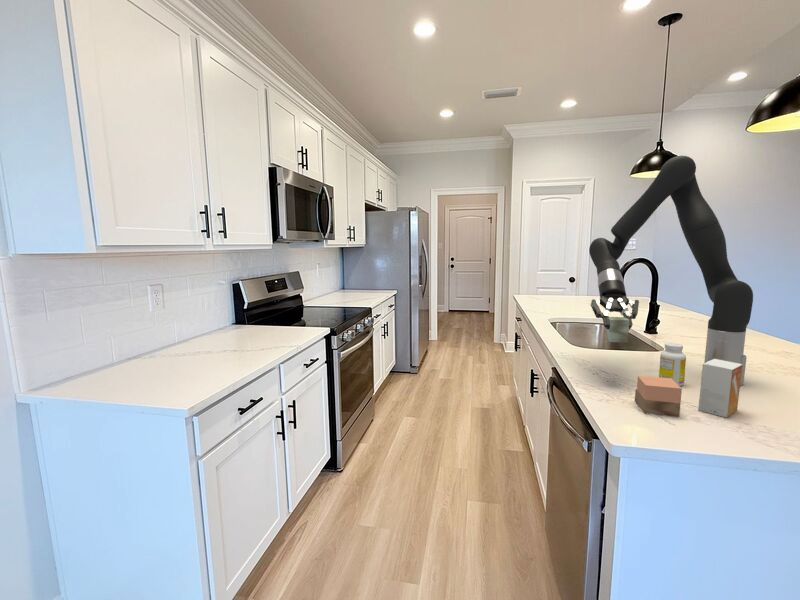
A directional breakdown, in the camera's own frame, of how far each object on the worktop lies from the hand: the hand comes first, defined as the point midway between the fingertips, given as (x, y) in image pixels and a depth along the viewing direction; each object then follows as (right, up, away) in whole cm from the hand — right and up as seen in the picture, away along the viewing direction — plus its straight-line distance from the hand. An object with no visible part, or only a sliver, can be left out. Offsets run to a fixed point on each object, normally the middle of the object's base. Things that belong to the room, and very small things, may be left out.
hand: (618, 328), depth 115 cm
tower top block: (+2, -17, -14) cm, 22 cm away
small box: (+18, -21, -15) cm, 32 cm away
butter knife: (+1, -23, -24) cm, 33 cm away
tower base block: (+2, -21, -13) cm, 25 cm away
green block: (0, -4, +2) cm, 5 cm away
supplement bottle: (+20, -18, +5) cm, 28 cm away
